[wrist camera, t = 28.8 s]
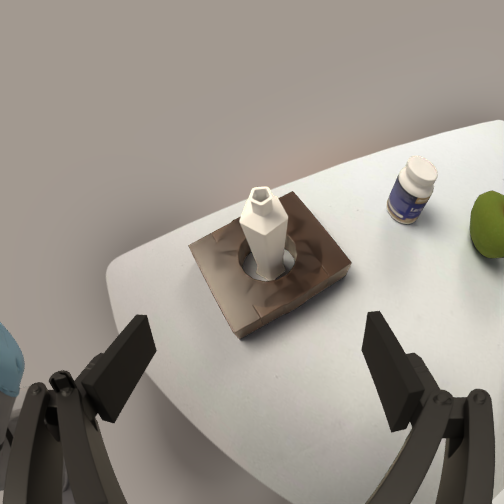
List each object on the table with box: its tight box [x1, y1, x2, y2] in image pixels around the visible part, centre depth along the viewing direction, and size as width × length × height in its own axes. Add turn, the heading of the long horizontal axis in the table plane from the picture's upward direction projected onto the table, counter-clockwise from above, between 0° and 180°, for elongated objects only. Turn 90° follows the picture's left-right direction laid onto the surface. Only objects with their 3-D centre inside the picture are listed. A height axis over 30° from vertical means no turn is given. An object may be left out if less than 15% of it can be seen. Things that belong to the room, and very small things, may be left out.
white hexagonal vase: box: [239, 187, 288, 281], centre depth 30 cm, size 5×4×15 cm
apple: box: [470, 191, 504, 258], centre depth 30 cm, size 11×10×10 cm
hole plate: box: [188, 191, 351, 339], centre depth 35 cm, size 16×13×4 cm
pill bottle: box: [387, 156, 438, 224], centre depth 34 cm, size 6×6×10 cm
